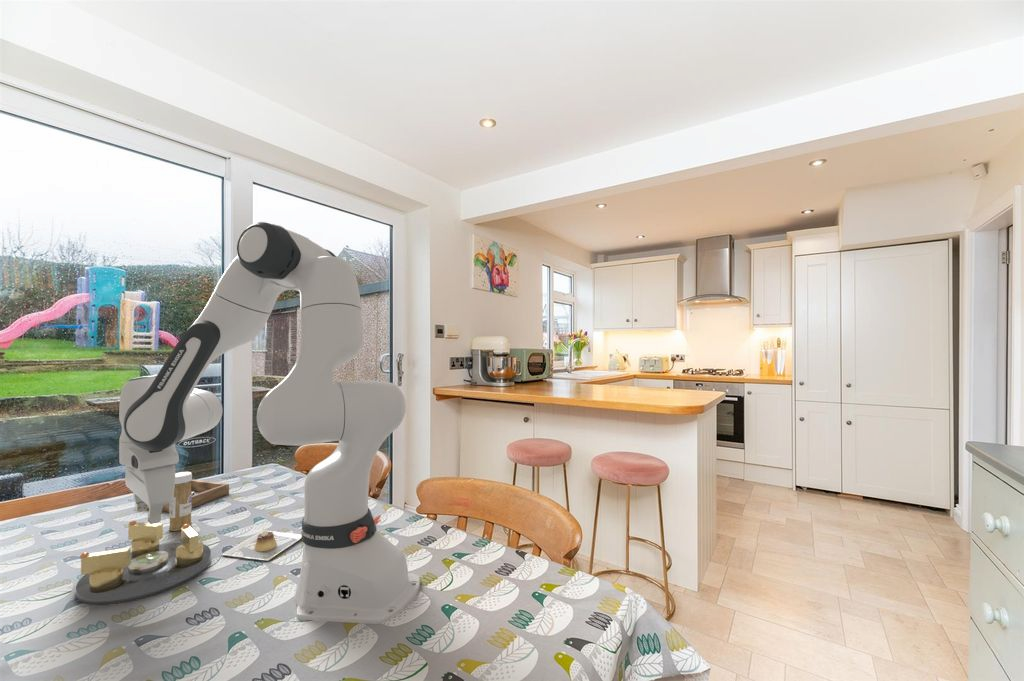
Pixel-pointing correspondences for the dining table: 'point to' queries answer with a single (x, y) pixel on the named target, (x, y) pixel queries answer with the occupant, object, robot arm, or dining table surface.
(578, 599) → the dining table surface
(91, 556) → the knob left
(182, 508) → the sprinkles bottle
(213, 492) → the wooden tray
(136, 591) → the plate
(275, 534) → the dessert
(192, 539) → the knob near
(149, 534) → the knob far
